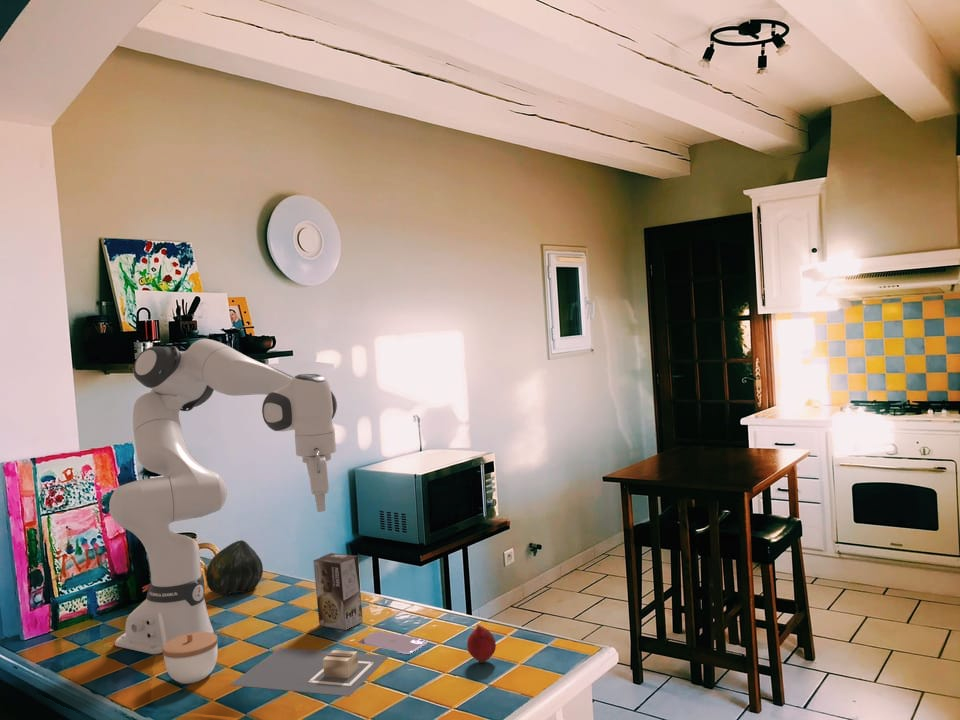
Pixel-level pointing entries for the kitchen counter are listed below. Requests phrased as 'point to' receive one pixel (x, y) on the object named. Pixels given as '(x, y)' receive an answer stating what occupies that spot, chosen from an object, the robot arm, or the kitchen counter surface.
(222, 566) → the squash
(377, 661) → the rubber mat
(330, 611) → the coffee box
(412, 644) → the mobile phone
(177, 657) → the lidded jar
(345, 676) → the taped cardboard box
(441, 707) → the kitchen counter surface
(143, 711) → the kitchen counter surface
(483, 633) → the onion
